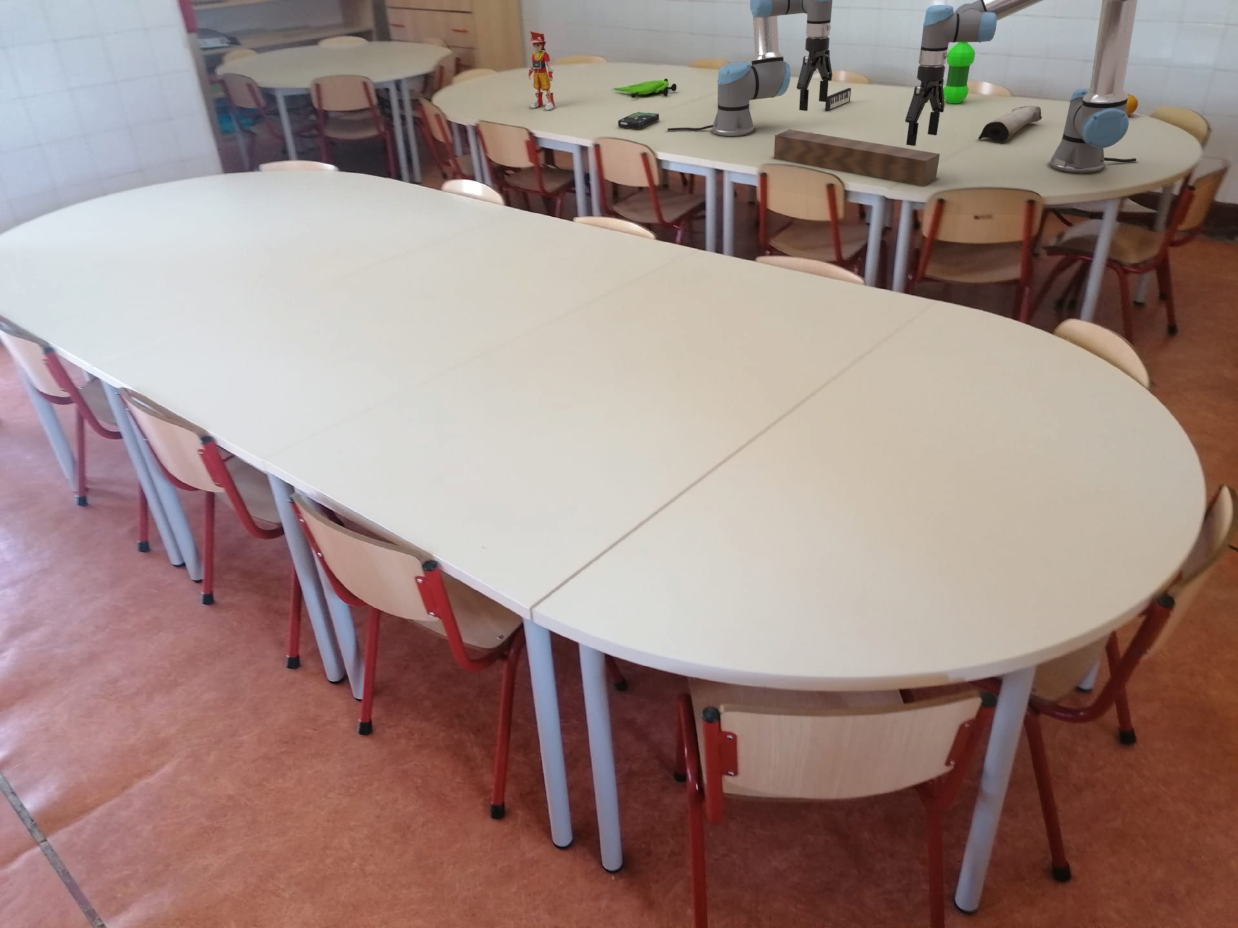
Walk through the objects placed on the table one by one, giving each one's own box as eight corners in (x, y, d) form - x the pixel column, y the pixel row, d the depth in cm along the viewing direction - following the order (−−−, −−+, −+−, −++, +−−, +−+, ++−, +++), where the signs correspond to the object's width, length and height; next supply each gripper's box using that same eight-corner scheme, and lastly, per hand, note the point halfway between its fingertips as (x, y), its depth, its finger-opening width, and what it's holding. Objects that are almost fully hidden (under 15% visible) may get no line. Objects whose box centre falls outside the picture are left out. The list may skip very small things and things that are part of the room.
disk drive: (640, 130, 344) (659, 120, 354) (640, 123, 343) (659, 113, 353) (617, 128, 349) (637, 118, 359) (617, 120, 348) (636, 111, 358)
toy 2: (686, 85, 398) (631, 84, 414) (685, 72, 395) (629, 72, 411) (651, 104, 381) (596, 103, 397) (650, 92, 378) (594, 91, 394)
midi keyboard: (827, 110, 354) (828, 97, 351) (824, 110, 354) (825, 97, 352) (850, 101, 364) (851, 88, 361) (847, 101, 365) (848, 88, 362)
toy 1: (525, 109, 381) (517, 32, 364) (534, 104, 388) (527, 28, 371) (550, 110, 377) (543, 32, 360) (559, 105, 384) (553, 28, 367)
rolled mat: (1009, 110, 328) (1033, 93, 320) (1023, 131, 328) (1047, 114, 320) (974, 133, 311) (998, 115, 302) (988, 155, 311) (1013, 138, 303)
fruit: (1107, 107, 323) (1124, 87, 320) (1104, 110, 331) (1120, 91, 328) (1128, 120, 322) (1144, 99, 319) (1124, 123, 330) (1140, 103, 327)
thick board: (773, 158, 306) (774, 135, 302) (788, 152, 311) (789, 129, 307) (922, 186, 275) (926, 161, 270) (936, 178, 280) (939, 153, 275)
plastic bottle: (973, 101, 354) (984, 32, 339) (955, 106, 349) (966, 36, 335) (952, 97, 361) (962, 29, 346) (934, 102, 356) (944, 33, 342)
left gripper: (809, 44, 279) (805, 115, 291) (846, 31, 295) (840, 99, 307) (788, 43, 283) (784, 113, 295) (825, 30, 299) (820, 97, 311)
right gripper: (923, 74, 251) (913, 151, 263) (963, 58, 266) (952, 132, 278) (899, 72, 256) (890, 148, 268) (939, 56, 270) (929, 128, 282)
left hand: (813, 106), depth 301 cm, fingers open, 13 cm apart
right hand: (921, 140), depth 273 cm, fingers open, 13 cm apart
